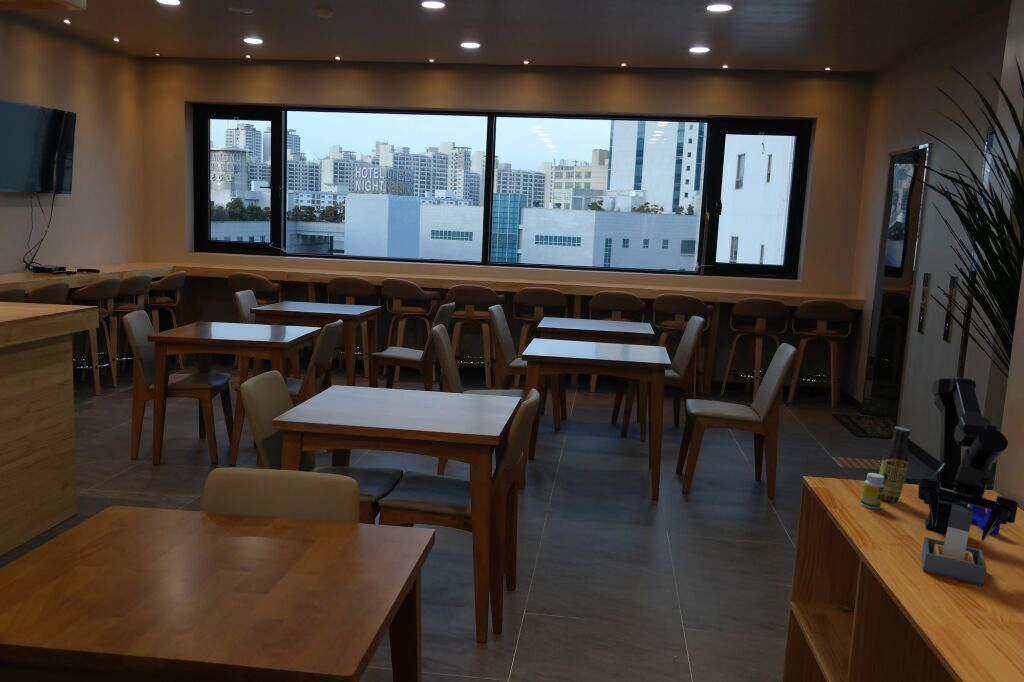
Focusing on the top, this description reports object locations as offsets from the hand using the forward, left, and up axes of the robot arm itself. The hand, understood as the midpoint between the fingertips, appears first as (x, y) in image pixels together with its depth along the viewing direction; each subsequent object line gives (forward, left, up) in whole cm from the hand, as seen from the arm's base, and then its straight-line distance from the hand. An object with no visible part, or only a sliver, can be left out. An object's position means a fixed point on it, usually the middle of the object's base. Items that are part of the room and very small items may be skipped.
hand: (957, 532), depth 173 cm
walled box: (-1, 0, -9) cm, 9 cm away
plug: (-1, 0, -8) cm, 8 cm away
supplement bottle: (-35, -17, -9) cm, 40 cm away
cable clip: (-40, +9, -9) cm, 42 cm away
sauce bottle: (-45, -13, -9) cm, 48 cm away
